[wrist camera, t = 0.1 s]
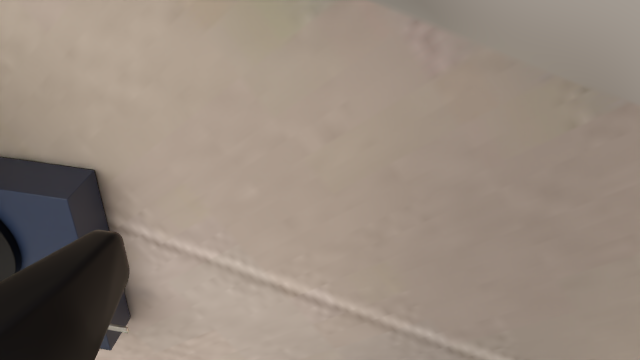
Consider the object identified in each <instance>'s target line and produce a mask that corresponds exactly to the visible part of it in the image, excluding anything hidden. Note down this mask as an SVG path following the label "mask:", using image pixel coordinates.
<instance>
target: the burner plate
mask: <svg viewBox="0 0 640 360" xmlns="http://www.w3.org/2000/svg"><path fill="white" fill-rule="evenodd" d="M20 268H21V253H20V250H19V247H18V244H17V242H16V240H15V238H14V237H13V235H12V233H11V232H10V231H9V229H8V228H7V227H6V226H5V224H4V223H3V222H2V221H1V220H0V281H2V280H4V279H6V278H8V277H10V276H11V275H13V274H15V273H17V272H19V271H20Z"/></svg>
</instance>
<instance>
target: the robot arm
mask: <svg viewBox="0 0 640 360" xmlns="http://www.w3.org/2000/svg"><path fill="white" fill-rule="evenodd" d="M128 278H129V264H128V260H127V256H126V252H125V247H124V243H123V239H122V237H121V235H120V234H118V233H116V232H111V231H104V230H94V231H92V232H90V233H88V234H86V235H84V236H83V237H81V238H79V239H77V240H75V241H73V242H72V243H70V244H68V245H66V246H64V247H62V248H61V249H59V250H57V251H55V252H53V253H51V254H50V255H48V256H46V257H44V258H42V259H41V260H39V261H37V262H35V263H33V264H31V265H30V266H28V267H26V268H24V269H22V270H20V271H19V272H17V273H15V274H13V275H11V276H10V277H8V278H6V279H4V280H2V281H0V360H95V358H96V355H97V353H98V351H99V349H100V346H101V344H102V342H103V339H104V337H105V335H106V332H107V330H108V327H109V325H110V323H111V320H112V318H113V315H114V313H115V311H116V308H117V306H118V303H119V301H120V299H121V296H122V294H123V291H124V289H125V287H126V284H127V281H128Z"/></svg>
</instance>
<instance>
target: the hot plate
mask: <svg viewBox="0 0 640 360" xmlns="http://www.w3.org/2000/svg"><path fill="white" fill-rule="evenodd" d="M0 220H1V221H2V222H3V223H4V224H5V226H6V227H7V228H8V229H9V231H10V232H11V233H12V235H13V237H14V238H15V240H16V242H17V244H18V247H19V250H20V253H21V268H20V270H22V269H24V268H26V267H28V266H30V265H31V264H33V263H35V262H37V261H39V260H41V259H42V258H44V257H46V256H48V255H50V254H51V253H53V252H55V251H57V250H59V249H61V248H62V247H64V246H66V245H68V244H70V243H72V242H73V241H75V240H77V239H79V238H81V237H83V236H84V235H86V234H88V233H90V232H92V231H94V230H104V231H109V229H108V225H107V221H106V217H105V213H104V209H103V205H102V201H101V197H100V192H99V188H98V184H97V180H96V176H95V172H94V170H89V169H82V168H75V167H68V166H60V165H53V164H46V163H39V162H32V161H25V160H18V159H11V158H4V157H0ZM129 320H130V314H129V310H128V306H127V302H126V298H125V294H124V291H123V294H122V296H121V299H120V301H119V303H118V306H117V308H116V311H115V313H114V315H113V318H112V320H111V323H110V325H109V327H108V330H107V332H106V335H105V337H104V339H103V342H102V344H101V346H100V349H106V350H111V349H112V348H113V346H114V344H115V343H116V341H117V339H118V338H119V336H120V334H121V333H122V332H124V333H128V332H129V330H128V327H126V325H127V323H128V321H129Z"/></svg>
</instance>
